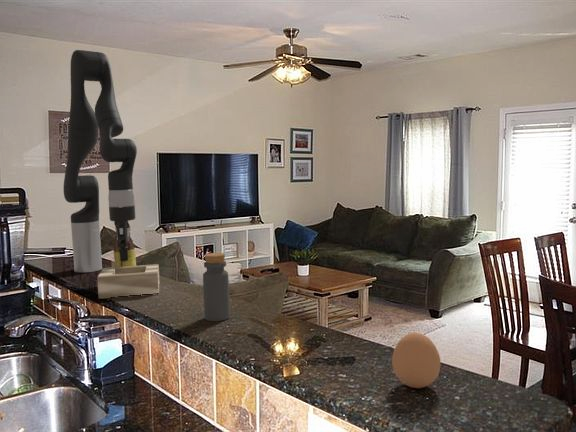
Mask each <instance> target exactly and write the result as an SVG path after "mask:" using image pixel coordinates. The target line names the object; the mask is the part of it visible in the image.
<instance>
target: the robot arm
mask: <svg viewBox="0 0 576 432" xmlns="http://www.w3.org/2000/svg"><path fill="white" fill-rule="evenodd" d="M85 81H87V82H99V84H100V87H101V90H100V92H99V93H100V94H99V96H98V98H97V100H96V104H95V106H94V108H92V107H93V106H91V104H90V102H89V100H88V97H87V96H86V89H85ZM123 132H124V125H123V122H122V118H121V115H120V112H119V109H118V106H117V102H116V95H115V89H114V80H113V74H112V68H111V63H110V61H109V57H108V56H107V55H106V54H105V53H103V52H101V51H93V50H92V51H91V50H84V49H83V50H82V49H76V50H74V51H73V52H72V54H71V58H70V109H69V118H68V132H67V135H68V136H67V137H68V138H67V158H66V166H65V171H64V179H63V196H64V197H63V198H64V199H65V201H66V202H67V203H70V204H71V203H72V204H73V203H85V205H84V206H83V207H82V208H81V209H80V210H78V211H75V212H73V213H72V214H71V215H70V227H71V228H70V229H71V243H72V256H73V269H74V270H73V272H75V273H93V272H98V271H102V269H103V262H102V261H103V260H102V259H103V257H102V245H101V244H102V243H101V231H100V230H101V228H100V187H99V186H100V185H99V181H98V179H97V177H96V176H95V175H90V174H89V175H79V174H80V170H81V167H82V165H83V163H84V162H85V160H86V159H87V158H88V156H89V155H90V153H91V152H92V151H93V150H94V148H95V147H96V145H97V143H98V140H100V141H99V153H100V157H101V159H103V161H105V162H107V163H121V165H120V167H119V168H118V169H114V170H111V171H109V172H108V174H107V183H108V199H107V200H108V211H109V212H108V213H109V221H110V222H114V221H117V222H118V227H115V233H116V232H117V241H118V248H119V249H120V260H121V261H127V260H128V250H127V248H128V244H127V242H128V241H129V235H130V236H131V225H130V223H129V222H130V221H134V220H136V204H135V202H136V201H135V194H134V186H133V174H134V173H133V172H134V166H135V162H136V158H137V153H138V151H137V150H138V149H137V145H136V143H135V142H134V140H132V139H131V138H116V137H119V136H120V135H122V133H123ZM127 221H128V227H127V224H126V222H127ZM122 241H125V243H121V242H122Z"/></svg>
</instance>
